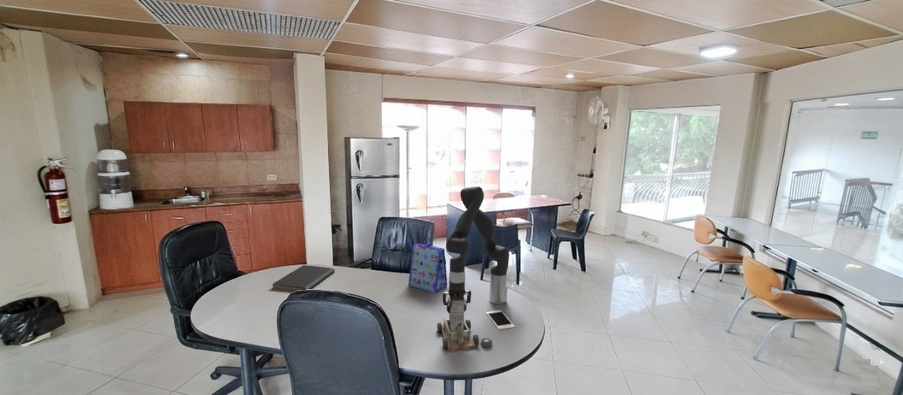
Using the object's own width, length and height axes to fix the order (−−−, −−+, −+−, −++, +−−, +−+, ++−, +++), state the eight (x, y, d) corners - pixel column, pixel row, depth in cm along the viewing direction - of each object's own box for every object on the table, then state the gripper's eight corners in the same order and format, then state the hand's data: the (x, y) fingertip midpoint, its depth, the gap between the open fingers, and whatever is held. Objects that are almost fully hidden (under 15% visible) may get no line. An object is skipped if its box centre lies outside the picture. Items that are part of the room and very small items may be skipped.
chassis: (468, 325, 188) (468, 315, 187) (479, 347, 169) (479, 336, 168) (436, 328, 185) (436, 318, 184) (444, 351, 166) (444, 340, 165)
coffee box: (448, 321, 182) (449, 290, 179) (461, 320, 183) (462, 290, 180) (450, 331, 173) (450, 299, 170) (464, 330, 174) (464, 298, 171)
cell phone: (498, 330, 184) (499, 328, 184) (485, 313, 201) (485, 311, 201) (515, 328, 187) (515, 326, 187) (500, 311, 204) (500, 309, 204)
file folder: (303, 264, 259) (334, 268, 254) (303, 270, 260) (334, 273, 255) (271, 283, 227) (307, 287, 222) (272, 289, 228) (307, 294, 223)
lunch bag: (447, 286, 234) (448, 243, 229) (435, 294, 223) (435, 248, 218) (420, 278, 246) (420, 237, 241) (407, 285, 235) (407, 242, 229)
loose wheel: (489, 341, 174) (490, 337, 174) (493, 347, 169) (493, 343, 169) (479, 342, 173) (479, 338, 173) (482, 348, 168) (482, 344, 168)
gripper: (469, 275, 179) (468, 306, 182) (440, 277, 176) (440, 309, 179) (473, 281, 172) (473, 314, 175) (443, 283, 169) (443, 317, 172)
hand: (456, 311), depth 177 cm, fingers closed on coffee box, 7 cm apart
